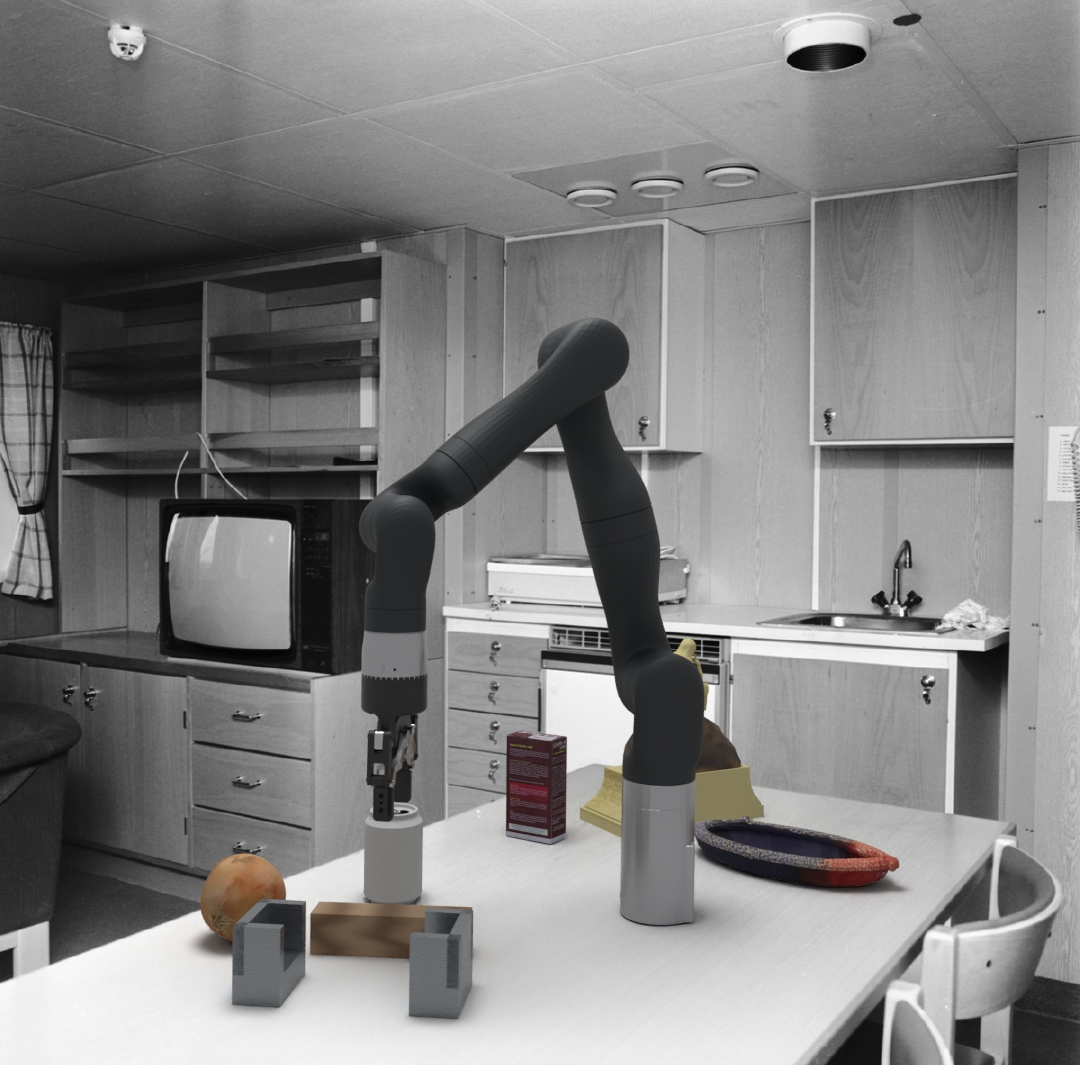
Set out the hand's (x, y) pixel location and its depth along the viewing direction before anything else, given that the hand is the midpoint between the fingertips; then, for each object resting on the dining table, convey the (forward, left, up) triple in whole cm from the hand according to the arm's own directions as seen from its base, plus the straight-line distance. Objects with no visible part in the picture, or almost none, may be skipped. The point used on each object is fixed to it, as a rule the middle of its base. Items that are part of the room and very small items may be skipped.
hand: (392, 810), depth 133 cm
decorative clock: (-32, -63, -16) cm, 72 cm away
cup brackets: (+1, +12, -16) cm, 20 cm away
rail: (0, 0, -16) cm, 16 cm away
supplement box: (-11, -48, -16) cm, 52 cm away
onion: (+18, -1, -16) cm, 24 cm away
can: (+4, -17, -16) cm, 24 cm away
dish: (-49, -38, -17) cm, 64 cm away
